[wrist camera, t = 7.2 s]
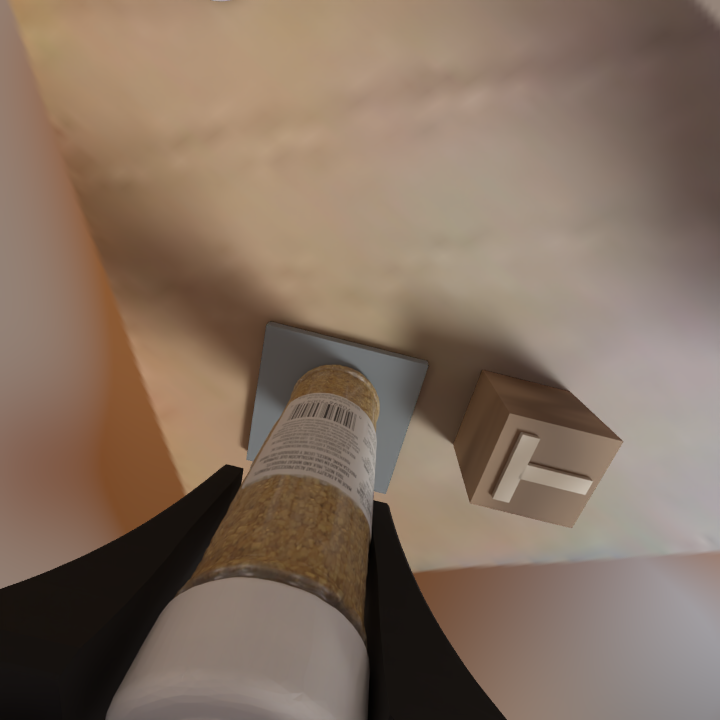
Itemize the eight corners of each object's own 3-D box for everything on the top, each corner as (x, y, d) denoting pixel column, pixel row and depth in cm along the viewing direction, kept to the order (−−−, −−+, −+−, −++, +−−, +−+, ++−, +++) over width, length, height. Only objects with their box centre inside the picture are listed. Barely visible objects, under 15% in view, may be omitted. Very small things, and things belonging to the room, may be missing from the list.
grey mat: (427, 361, 18) (428, 365, 17) (385, 486, 21) (385, 493, 20) (270, 321, 18) (266, 324, 17) (250, 453, 21) (246, 459, 20)
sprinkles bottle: (280, 419, 19) (70, 795, 7) (312, 345, 18) (115, 654, 5) (359, 453, 19) (303, 871, 7) (397, 384, 18) (415, 762, 5)
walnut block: (569, 390, 18) (626, 444, 14) (533, 463, 20) (574, 531, 15) (482, 369, 18) (511, 415, 14) (453, 443, 20) (471, 506, 15)
